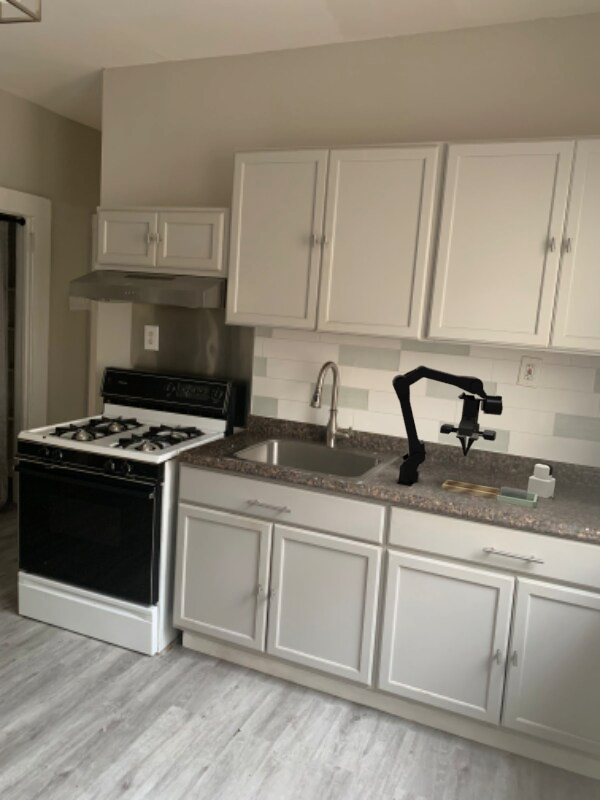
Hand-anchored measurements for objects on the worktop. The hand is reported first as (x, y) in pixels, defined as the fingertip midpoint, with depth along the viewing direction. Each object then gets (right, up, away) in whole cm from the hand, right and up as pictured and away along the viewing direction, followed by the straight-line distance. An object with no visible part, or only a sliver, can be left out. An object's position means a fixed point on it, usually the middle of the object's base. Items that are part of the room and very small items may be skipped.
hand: (465, 455), depth 223 cm
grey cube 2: (+11, -14, -10) cm, 21 cm away
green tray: (+14, -15, -11) cm, 24 cm away
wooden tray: (0, -13, -5) cm, 14 cm away
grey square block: (+15, -15, -12) cm, 24 cm away
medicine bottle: (+26, -15, -1) cm, 30 cm away
